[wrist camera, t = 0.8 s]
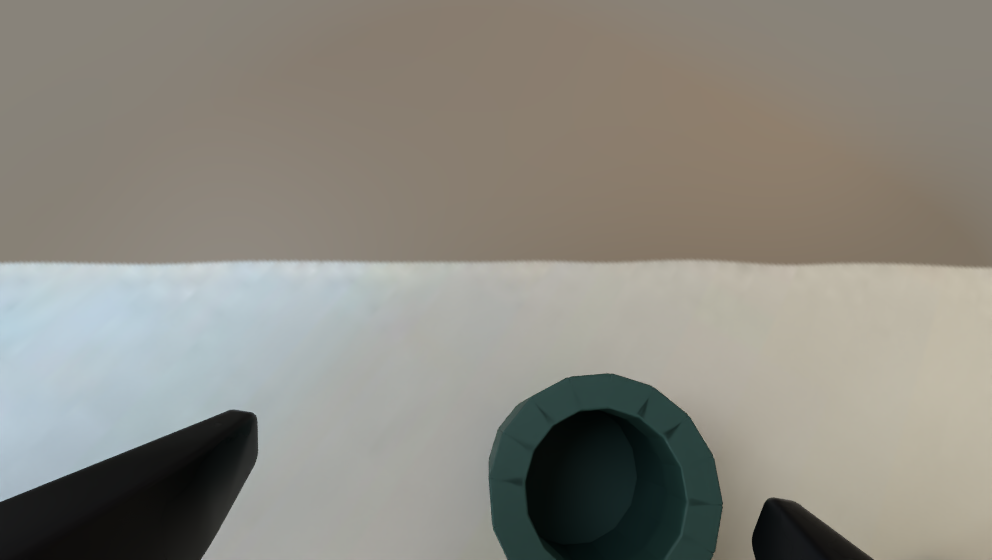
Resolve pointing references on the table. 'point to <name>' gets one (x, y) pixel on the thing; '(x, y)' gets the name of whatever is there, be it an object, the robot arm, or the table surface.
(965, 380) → the table surface
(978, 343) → the table surface
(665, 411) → the jar
